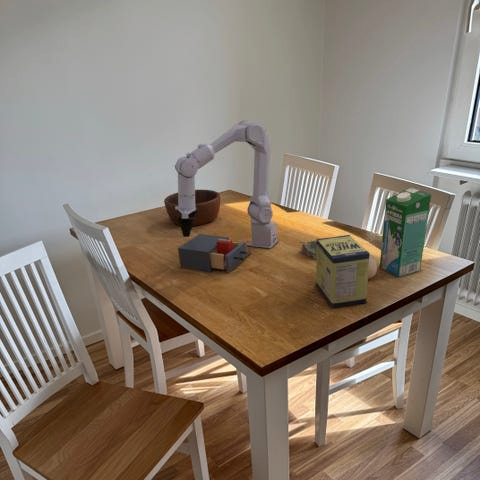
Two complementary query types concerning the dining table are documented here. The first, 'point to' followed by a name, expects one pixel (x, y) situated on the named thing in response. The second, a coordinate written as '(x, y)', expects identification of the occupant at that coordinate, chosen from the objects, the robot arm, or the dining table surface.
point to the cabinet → (198, 252)
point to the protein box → (342, 270)
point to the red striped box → (224, 247)
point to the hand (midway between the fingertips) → (187, 233)
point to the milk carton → (404, 231)
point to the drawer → (229, 257)
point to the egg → (372, 267)
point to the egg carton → (310, 248)
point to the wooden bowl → (204, 203)
